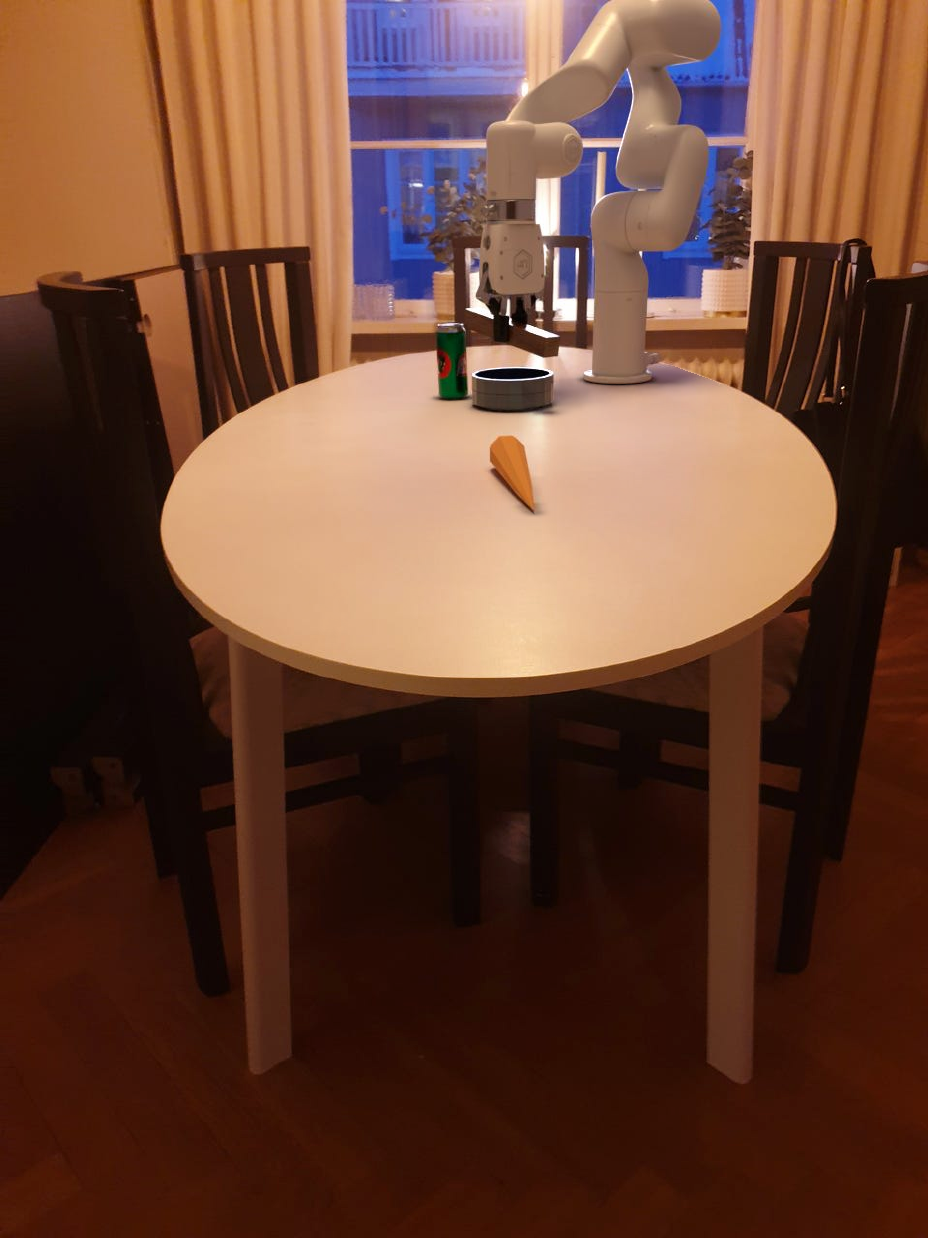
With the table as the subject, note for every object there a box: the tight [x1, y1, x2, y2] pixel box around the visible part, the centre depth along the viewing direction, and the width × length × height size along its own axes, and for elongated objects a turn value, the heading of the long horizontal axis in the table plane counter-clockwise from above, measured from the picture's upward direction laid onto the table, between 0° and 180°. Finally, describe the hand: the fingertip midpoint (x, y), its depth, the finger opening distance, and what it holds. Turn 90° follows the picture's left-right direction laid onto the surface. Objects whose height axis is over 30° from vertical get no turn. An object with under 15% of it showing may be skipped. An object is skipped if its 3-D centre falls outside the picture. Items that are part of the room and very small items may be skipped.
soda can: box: [434, 322, 469, 401], centre depth 152 cm, size 5×5×12 cm
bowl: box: [471, 366, 555, 412], centre depth 147 cm, size 13×13×5 cm
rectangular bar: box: [463, 307, 561, 359], centre depth 143 cm, size 3×20×3 cm, turn 38°
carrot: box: [489, 435, 535, 512], centre depth 102 cm, size 20×4×4 cm, turn 6°
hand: (510, 339), depth 143 cm, fingers closed on rectangular bar, 3 cm apart
